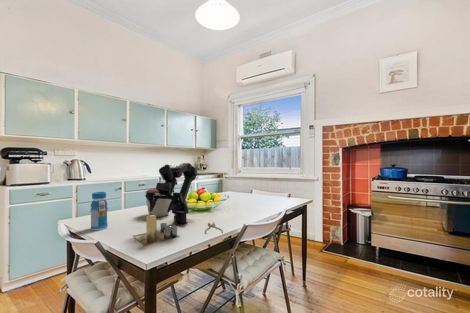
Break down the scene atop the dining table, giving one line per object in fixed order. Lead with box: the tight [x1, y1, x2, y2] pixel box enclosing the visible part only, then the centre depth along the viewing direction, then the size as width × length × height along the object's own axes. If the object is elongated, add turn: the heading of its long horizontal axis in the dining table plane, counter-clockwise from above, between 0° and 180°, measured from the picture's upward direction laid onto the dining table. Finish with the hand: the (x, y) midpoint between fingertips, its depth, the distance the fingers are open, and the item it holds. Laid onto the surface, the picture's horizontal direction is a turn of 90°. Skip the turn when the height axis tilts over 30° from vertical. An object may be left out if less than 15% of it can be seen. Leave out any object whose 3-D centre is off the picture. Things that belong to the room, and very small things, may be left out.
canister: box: [144, 187, 171, 218], centre depth 159 cm, size 18×18×21 cm
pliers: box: [204, 221, 224, 235], centre depth 129 cm, size 10×1×20 cm
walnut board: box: [132, 229, 181, 247], centre depth 113 cm, size 18×17×1 cm
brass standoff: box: [145, 213, 158, 244], centre depth 107 cm, size 4×4×12 cm
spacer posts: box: [160, 222, 178, 241], centre depth 116 cm, size 9×16×4 cm, turn 40°
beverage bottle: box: [89, 191, 109, 231], centre depth 130 cm, size 8×8×20 cm
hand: (159, 211), depth 114 cm, fingers open, 9 cm apart
